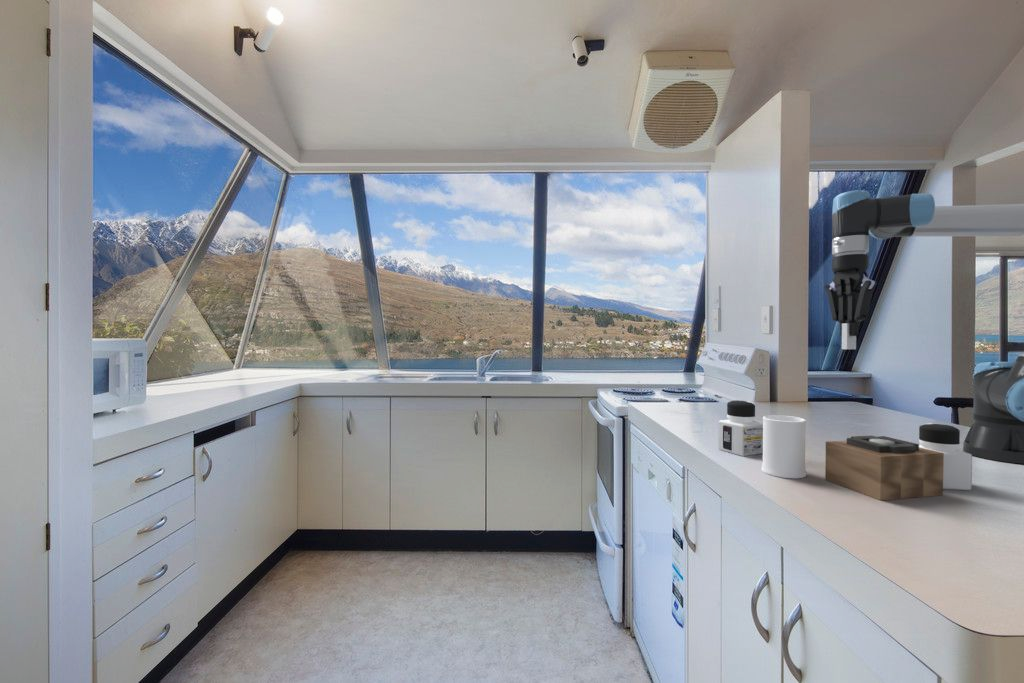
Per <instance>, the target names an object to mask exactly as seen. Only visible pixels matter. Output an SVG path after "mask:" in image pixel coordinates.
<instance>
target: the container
mask: <svg viewBox="0 0 1024 683" xmlns="http://www.w3.org/2000/svg"><path fill="white" fill-rule="evenodd" d="M726 404H727V405H726V418H727V419H720V420H719V421H718V443H717V444H718V450H719V451H724V452H727V453H730V454H732V455H733V454H734V455H736V456H740V457H745V456H747V457H748V456H752V455H753V456H754V455H759V454H763V422H760V421H755V420H756V404H755V403H754V402H751V401H748V400H737V399H736V400H731V401H728V402H727V403H726Z"/></svg>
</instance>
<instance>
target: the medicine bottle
mask: <svg viewBox="0 0 1024 683" xmlns="http://www.w3.org/2000/svg"><path fill="white" fill-rule="evenodd" d="M918 428H919V429H918V430H919V432H918V436H919V437H918V442H919V443H918V444H919V447H920V448H924V449H928V450H933V451H937V452H941V453H944V461H943V490H954V491H957V490H959V491H960V490H961V491H962V490H963V491H971V490H972V481H973V480H972V475H973V472H972V471H973V469H972V468H973V455H971V454H969V453H966V452H964V451H963V450H960V449H959V448H960V444H961V442H960V439H961V438H960V437H961V435H960V434H961V431H960V429H958V428H957V427H955V426H953V425H949V424H943V423H933V422H932V423H930V422H929V423H923V424H921V425H919V427H918Z"/></svg>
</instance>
